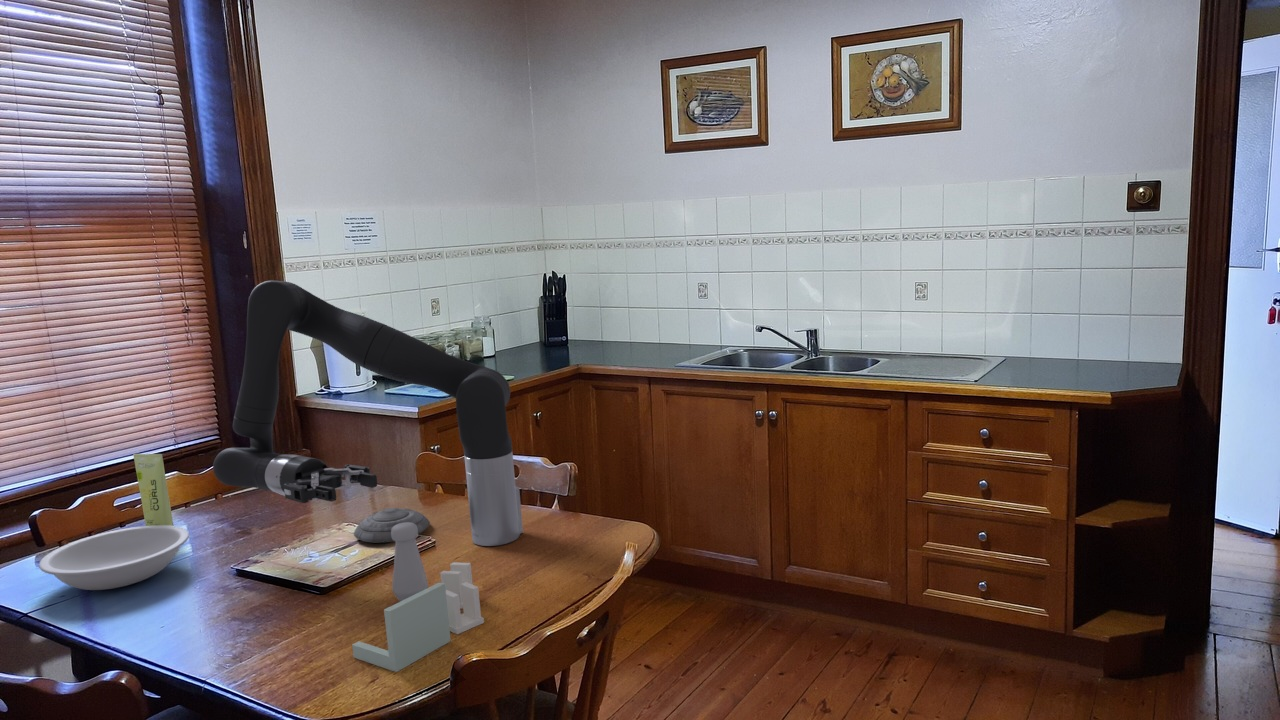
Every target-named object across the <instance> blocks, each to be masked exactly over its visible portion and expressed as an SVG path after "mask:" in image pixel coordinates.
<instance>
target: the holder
mask: <svg viewBox="0 0 1280 720" xmlns="http://www.w3.org/2000/svg"><path fill="white" fill-rule="evenodd" d="M383 615H384V625H385V631H386V640H387V641H386V642H387V649H384V648H381V647H378V646H376V645H372V644H369V643H366V642H363V641H360V640H358V641H357V642H355V643H352V645H351V646H352V647H351V648H352V654H353V655H352V656H353V658H354V659H357V660H359V661H363V662H366V663H368V664H370V665H371V664H372V665H374V666H378V667H379V668H380V667H381V668H383V669H386V670H389V671H391V672H395V673H397V672H399V671H401V670H402V669H405V668H407V667H408V666H410V665H412V664H413V663H415V662H416V661H417V662H418V660H420V659H422V658H424V657H425V656H428V655H429V654H431V653H432V652H434V651H436V650H437V649H440V648H441V647H443V646H445V645H446V644H449V643H450V642H451V639H452V638H451V631H450V629H449V619H448V609H447V599H446V589H445V584H444V583H441V581H440V582H438V583H437V582H436V583H435V584H433V585H431V586H429V587H428V588H427V589H425V590H423V591H421V592H419V593H417V594H415V595H413V596H411V597H409V598H407V599H405V600H403V601H401V602H400V601H399V602H397V603H395V604H393V605H390V606H389V607H386V608H385V609H383Z"/></svg>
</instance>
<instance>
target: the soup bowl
mask: <svg viewBox="0 0 1280 720" xmlns="http://www.w3.org/2000/svg"><path fill="white" fill-rule="evenodd" d="M189 537H190V532H189V531H188V529H186V528H184V527H181V526H178V525H177V526H176V525H174V526H169V525H152V526H146V525H142V526H133V527H127V528H121V529H115V530H111V531H106V532H102V533H98V534H93V535H91V536H88V537H84V538H80V539H78V540H76V541H73V542H70V543H67V544H65V545H62V546H60V547H59V548H56V549H54V550H52V551H50V552H49V553H47V554H46V555H45V556H43V557H42V559H41V560H40V561H39V564H38V568H39V569H40V571H42V572H44V573H45V574H48V575H53V576H54V577H55V578H56V579H58V580H59V581H60V582H62V583H64V584H65V585H67V586H69V587H73V588H76V589H79V590H85V591H88V590H89V591H102V590H103V591H104V590H112V589H118V588H123V587H127V586H129V585H133V584H136V583H139V582H142V581H144V580H146V579H149V578H151V577H153V576H154V575H156V574H158V573H160V572H161V571H162V570H164V569H165V568H166V567H167V566H168V565H169V564H171V562H172V561H173V560H174V558H175V557H176V555H177V554H178V551H179V549H180V547H182V546H183V545H184V544H185V543H187V541H188V539H189Z"/></svg>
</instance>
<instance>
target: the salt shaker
mask: <svg viewBox="0 0 1280 720" xmlns="http://www.w3.org/2000/svg"><path fill="white" fill-rule="evenodd" d="M391 536H392V540H394V541H393V542H395V548H394V560H393V573H392V584H391V585H392V587H391V588H392V593H393V594H394V597H396V598H397V600H398V601H399V602H401V601H403V600H405V599H407V598H409V597H411V596H413V595H415V594H417V593H419V592H421V591H423V590H425V589H427V588H429V587H428V584H429V583H428V578H427V574H426V572H425V568H424V564H423V560H422V557H421V555H420V551H419V548H418V547H419V546H418V545H417V544H418V543H417V540H416V538H418V536H419V534H418V528H417V525H415V524H414V523H410V522H405V523H400V524H397V525H395V526H394V527H393V528H392V529H391Z"/></svg>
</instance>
